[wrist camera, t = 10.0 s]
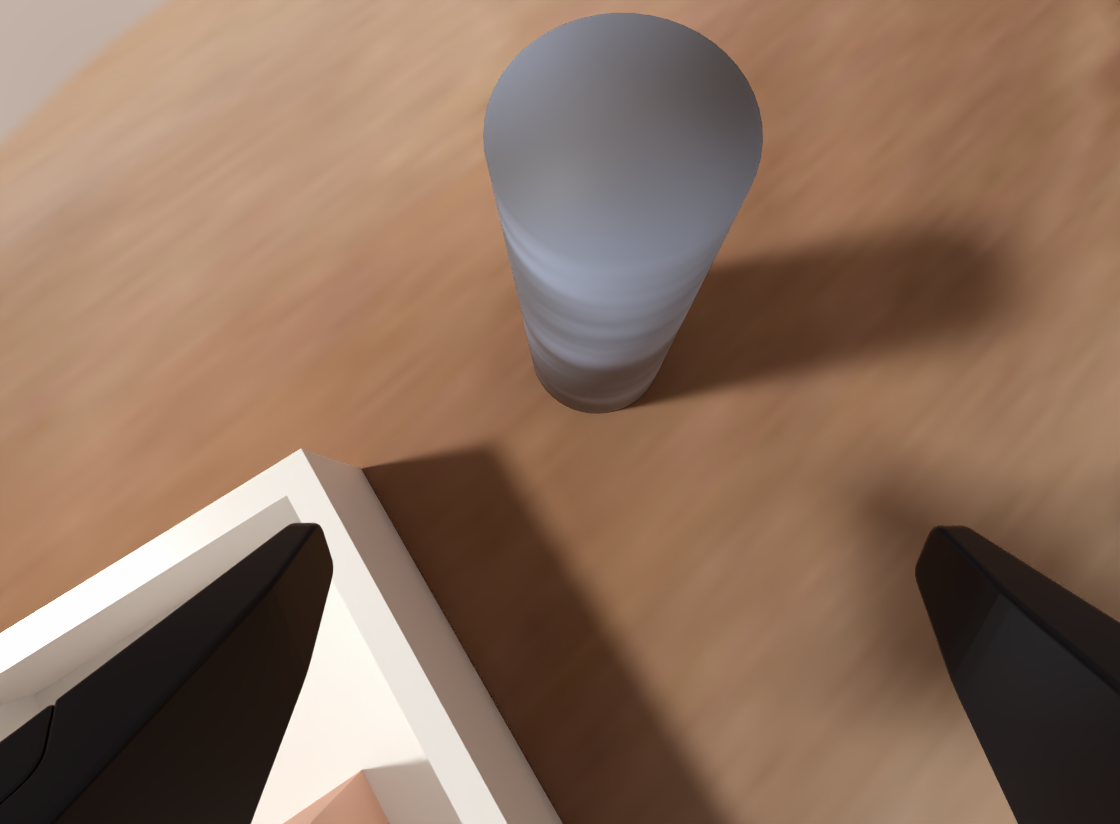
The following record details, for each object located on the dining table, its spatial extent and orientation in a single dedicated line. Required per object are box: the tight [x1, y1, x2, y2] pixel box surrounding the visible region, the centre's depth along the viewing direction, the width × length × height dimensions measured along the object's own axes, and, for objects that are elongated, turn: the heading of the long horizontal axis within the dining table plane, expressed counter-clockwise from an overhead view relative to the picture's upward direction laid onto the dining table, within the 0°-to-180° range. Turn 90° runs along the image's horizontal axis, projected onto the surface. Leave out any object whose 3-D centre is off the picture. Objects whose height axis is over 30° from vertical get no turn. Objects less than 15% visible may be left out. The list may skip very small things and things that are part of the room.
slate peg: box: [483, 13, 763, 413], centre depth 17 cm, size 5×5×13 cm
